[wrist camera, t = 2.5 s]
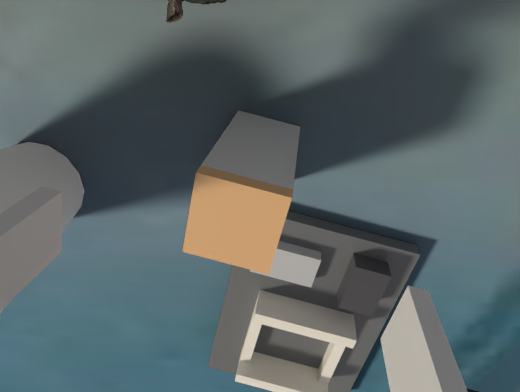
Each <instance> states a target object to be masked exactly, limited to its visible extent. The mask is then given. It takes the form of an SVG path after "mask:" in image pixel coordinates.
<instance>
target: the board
mask: <svg viewBox="0 0 520 392" xmlns="http://www.w3.org/2000/svg"><path fill="white" fill-rule="evenodd" d="M419 257H420V252H419V250H418V247H417V245H415V244H411V243H408V242H404V241H400V240H396V239H393V238H389V237H385V236H381V235H377V234H374V233H370V232H366V231H362V230H359V229H355V228H351V227H347V226H343V225H340V224H336V223H332V222H328V221H325V220H321V219H317V218H313V217H309V216H306V215H302V214H298V213H294V212H291V211H288V213H287V216H286V220H285V223H284V226H283V229H282V233H281V236H280V239H279V242H278V246H277V249H276V252H275V256H274V259H273V262H272V265H271V269H270V272H269V275H268V274H265V273H261V272H257V271H253V270H250V269H246V268H242V267H238V266H235V265H232V270H231V274H230V278H229V282H228V286H227V290H226V294H225V298H224V302H223V306H222V310H221V314H220V318H219V322H218V326H217V330H216V334H215V338H214V343H213V347H212V351H211V355H210V359H209V363H208V367H210V368H214V369H218V370H221V371H225V372H229V373H232V374H236V378H235V381H236V382H240V383H244V384H247V385H251V386H255V387H259V388H262V389H266V390H270V391H274V392H350V390H351V388H352V386H353V384H354V382H355V380H356V378H357V376H358V374H359V372H360V370H361V369H362V367H363V365H364V363H365V361H366V359H367V357H368V355H369V353H370V351H371V349H372V347H373V345H374V343H375V342H376V340H377V338H378V336H379V334H380V332H381V330H382V328H383V326H384V324H385V322H386V320H387V318H388V317H389V315H390V313H391V311H392V309H393V307H394V305H395V303H396V301H397V299H398V297H399V295H400V293H401V291H402V290H403V288H404V286H405V284H406V282H407V280H408V278H409V276H410V274H411V272H412V270H413V268H414V266H415V265H416V263H417V261H418V259H419Z"/></svg>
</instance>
